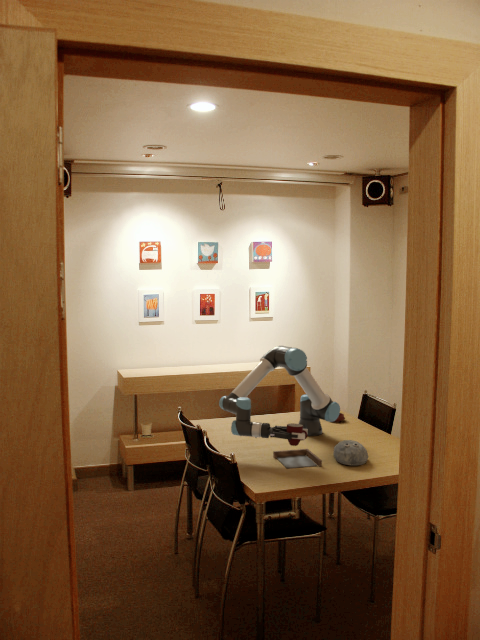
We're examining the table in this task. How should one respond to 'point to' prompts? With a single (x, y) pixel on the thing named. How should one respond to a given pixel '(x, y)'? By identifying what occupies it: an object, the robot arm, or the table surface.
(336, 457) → the decorative stone
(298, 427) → the mug
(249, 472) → the table surface
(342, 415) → the pottery
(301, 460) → the tray
